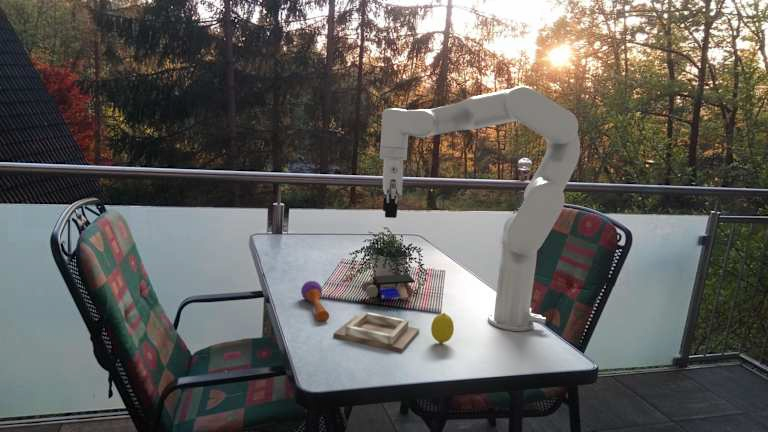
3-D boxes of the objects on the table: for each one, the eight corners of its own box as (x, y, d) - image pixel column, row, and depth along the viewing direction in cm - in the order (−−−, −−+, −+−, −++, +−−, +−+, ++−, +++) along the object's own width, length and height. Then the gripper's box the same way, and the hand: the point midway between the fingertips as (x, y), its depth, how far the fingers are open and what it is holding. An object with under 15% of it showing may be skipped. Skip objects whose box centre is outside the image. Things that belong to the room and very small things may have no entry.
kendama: (310, 308, 144) (298, 279, 163) (313, 329, 146) (301, 298, 165) (332, 304, 146) (318, 275, 164) (335, 324, 148) (320, 294, 166)
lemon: (434, 348, 135) (437, 317, 133) (426, 339, 140) (429, 309, 138) (455, 347, 136) (458, 317, 135) (447, 338, 141) (450, 309, 140)
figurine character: (367, 309, 163) (415, 302, 167) (366, 284, 161) (415, 277, 165) (361, 301, 169) (408, 294, 173) (360, 277, 167) (407, 271, 172)
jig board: (418, 332, 144) (419, 321, 143) (401, 352, 131) (402, 340, 130) (355, 319, 150) (356, 308, 149) (333, 337, 137) (334, 325, 136)
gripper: (410, 156, 145) (405, 220, 148) (403, 152, 162) (399, 209, 165) (381, 155, 144) (377, 219, 147) (378, 150, 161) (374, 208, 164)
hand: (389, 214), depth 156 cm, fingers open, 9 cm apart
